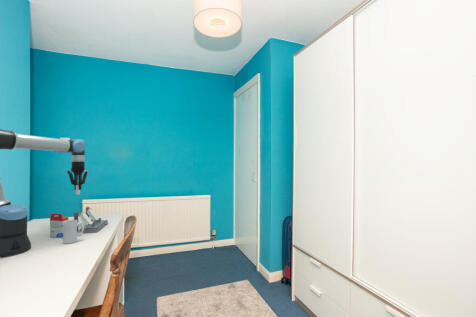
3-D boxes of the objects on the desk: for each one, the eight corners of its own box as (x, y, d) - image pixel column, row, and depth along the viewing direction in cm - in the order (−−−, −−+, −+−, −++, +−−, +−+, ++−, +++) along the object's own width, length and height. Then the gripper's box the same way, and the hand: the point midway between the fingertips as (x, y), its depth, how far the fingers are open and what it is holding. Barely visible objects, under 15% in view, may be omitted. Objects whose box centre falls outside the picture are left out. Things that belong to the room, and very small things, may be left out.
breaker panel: (96, 232, 149) (97, 224, 149) (79, 233, 147) (79, 225, 147) (107, 223, 169) (107, 216, 169) (92, 224, 167) (93, 217, 167)
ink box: (68, 235, 143) (69, 212, 143) (61, 237, 138) (62, 213, 138) (56, 234, 144) (56, 211, 144) (49, 237, 139) (49, 213, 139)
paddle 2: (96, 220, 161) (88, 209, 160) (94, 222, 160) (85, 210, 159) (99, 218, 165) (90, 207, 164) (96, 220, 165) (88, 209, 164)
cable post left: (73, 233, 146) (73, 215, 146) (69, 233, 146) (69, 215, 146) (78, 230, 153) (79, 212, 153) (74, 230, 153) (75, 212, 153)
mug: (61, 245, 127) (61, 223, 127) (63, 241, 133) (64, 220, 133) (83, 242, 132) (83, 221, 132) (84, 238, 138) (84, 218, 138)
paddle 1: (90, 224, 150) (80, 212, 149) (87, 226, 150) (78, 214, 148) (93, 222, 154) (83, 211, 153) (90, 224, 154) (81, 213, 153)
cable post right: (88, 223, 168) (88, 207, 169) (84, 223, 168) (85, 207, 168) (94, 220, 179) (94, 204, 179) (90, 220, 178) (91, 204, 179)
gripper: (90, 161, 165) (90, 193, 165) (70, 161, 163) (70, 193, 162) (86, 161, 158) (85, 194, 158) (65, 161, 155) (64, 195, 155)
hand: (77, 194), depth 160 cm, fingers closed
